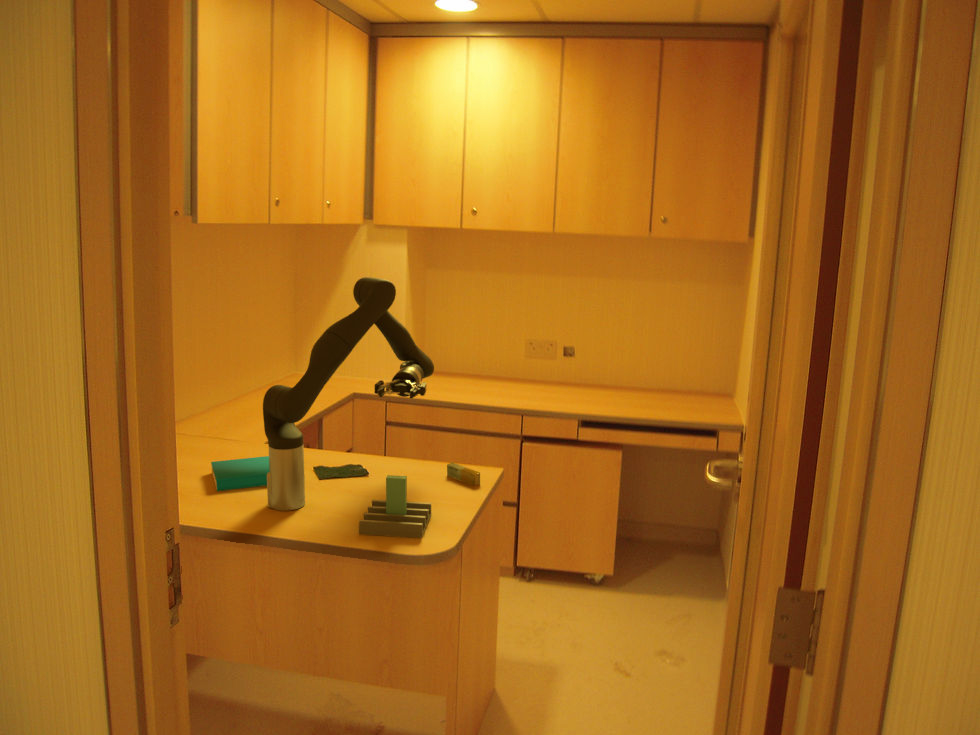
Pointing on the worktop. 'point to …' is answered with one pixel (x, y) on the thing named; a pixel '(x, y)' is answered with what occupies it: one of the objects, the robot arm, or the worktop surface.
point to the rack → (396, 520)
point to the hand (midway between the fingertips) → (395, 394)
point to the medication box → (463, 474)
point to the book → (240, 473)
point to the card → (396, 495)
